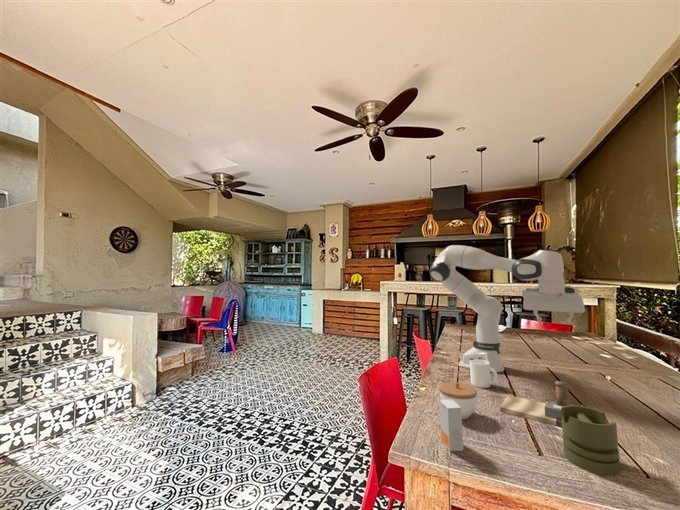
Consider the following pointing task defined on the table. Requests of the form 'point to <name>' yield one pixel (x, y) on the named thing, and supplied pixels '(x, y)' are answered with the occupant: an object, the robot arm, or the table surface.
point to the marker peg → (562, 393)
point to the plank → (528, 410)
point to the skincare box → (451, 425)
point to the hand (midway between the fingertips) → (553, 322)
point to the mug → (481, 373)
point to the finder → (553, 411)
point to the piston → (590, 440)
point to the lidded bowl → (460, 396)
